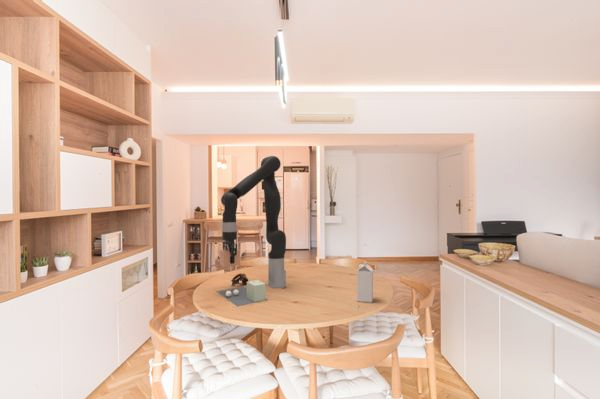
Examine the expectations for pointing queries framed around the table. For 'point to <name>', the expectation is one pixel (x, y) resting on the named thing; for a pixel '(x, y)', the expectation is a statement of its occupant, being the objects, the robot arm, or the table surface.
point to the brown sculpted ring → (241, 278)
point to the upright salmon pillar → (228, 258)
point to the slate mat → (237, 296)
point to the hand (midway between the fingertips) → (229, 262)
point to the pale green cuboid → (256, 290)
